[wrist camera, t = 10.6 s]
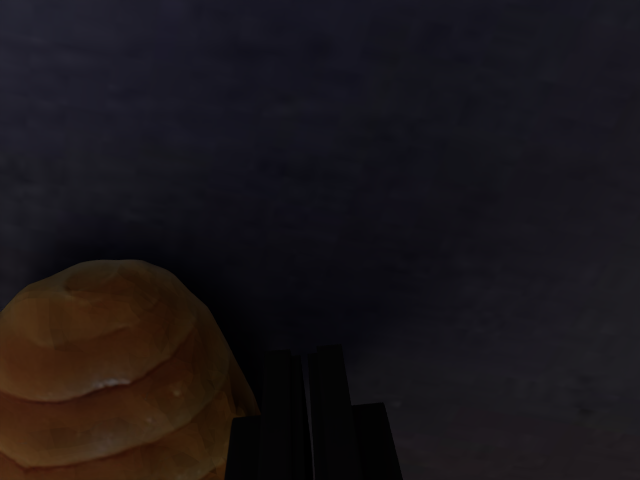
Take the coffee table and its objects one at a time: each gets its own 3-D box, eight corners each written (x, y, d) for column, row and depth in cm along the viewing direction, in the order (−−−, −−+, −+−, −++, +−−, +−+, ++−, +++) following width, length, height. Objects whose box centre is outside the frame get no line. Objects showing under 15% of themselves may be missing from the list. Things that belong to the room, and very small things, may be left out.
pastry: (-58, 254, 11) (-215, 376, 7) (256, 230, 11) (244, 338, 8) (64, 529, 15) (0, 688, 12) (289, 506, 15) (291, 656, 12)
